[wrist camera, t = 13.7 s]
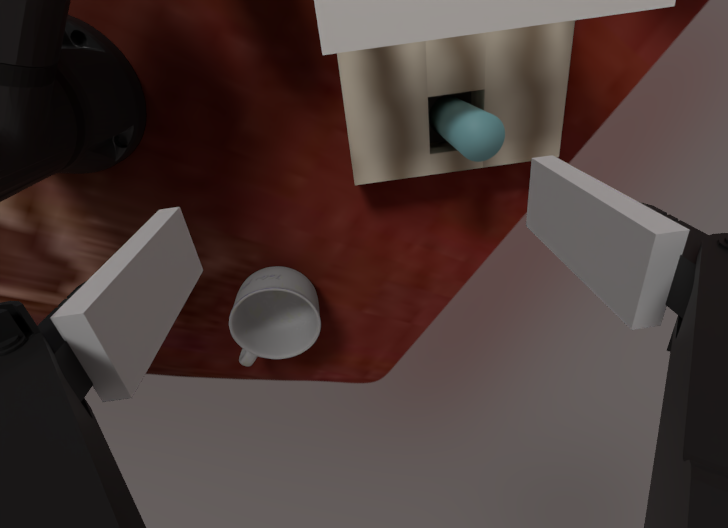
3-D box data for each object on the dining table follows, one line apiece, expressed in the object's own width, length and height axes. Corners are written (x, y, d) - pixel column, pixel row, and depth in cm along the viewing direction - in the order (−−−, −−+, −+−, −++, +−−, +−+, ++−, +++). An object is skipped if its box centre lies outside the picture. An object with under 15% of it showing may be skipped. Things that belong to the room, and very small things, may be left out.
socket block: (353, 171, 48) (354, 185, 43) (324, -37, 38) (323, -46, 34) (538, 146, 48) (558, 157, 43) (557, -70, 38) (587, -83, 34)
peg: (430, 136, 46) (458, 164, 35) (428, 98, 44) (457, 116, 33) (465, 131, 46) (504, 158, 35) (465, 93, 44) (505, 109, 33)
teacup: (278, 240, 52) (269, 272, 45) (338, 290, 56) (339, 327, 49) (210, 305, 56) (193, 343, 49) (271, 347, 60) (263, 388, 53)
